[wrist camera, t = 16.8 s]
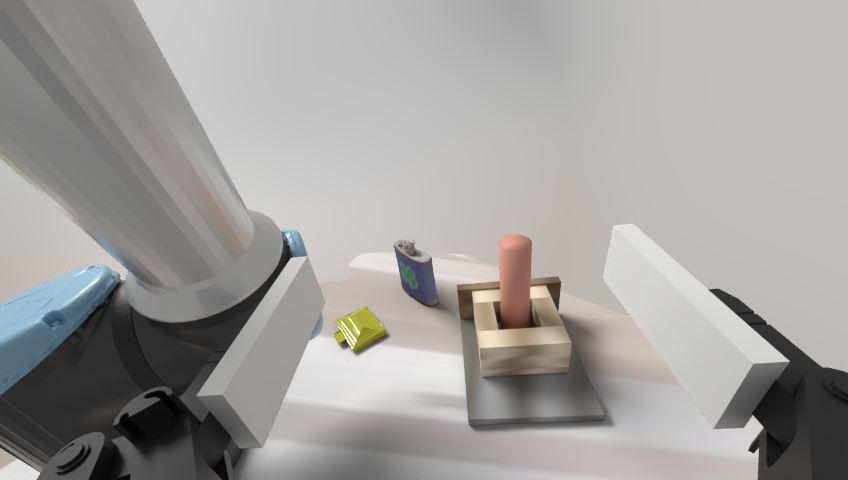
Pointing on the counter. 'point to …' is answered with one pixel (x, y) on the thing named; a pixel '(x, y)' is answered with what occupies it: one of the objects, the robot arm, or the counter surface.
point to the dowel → (515, 281)
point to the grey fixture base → (523, 378)
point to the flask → (416, 273)
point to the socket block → (521, 337)
